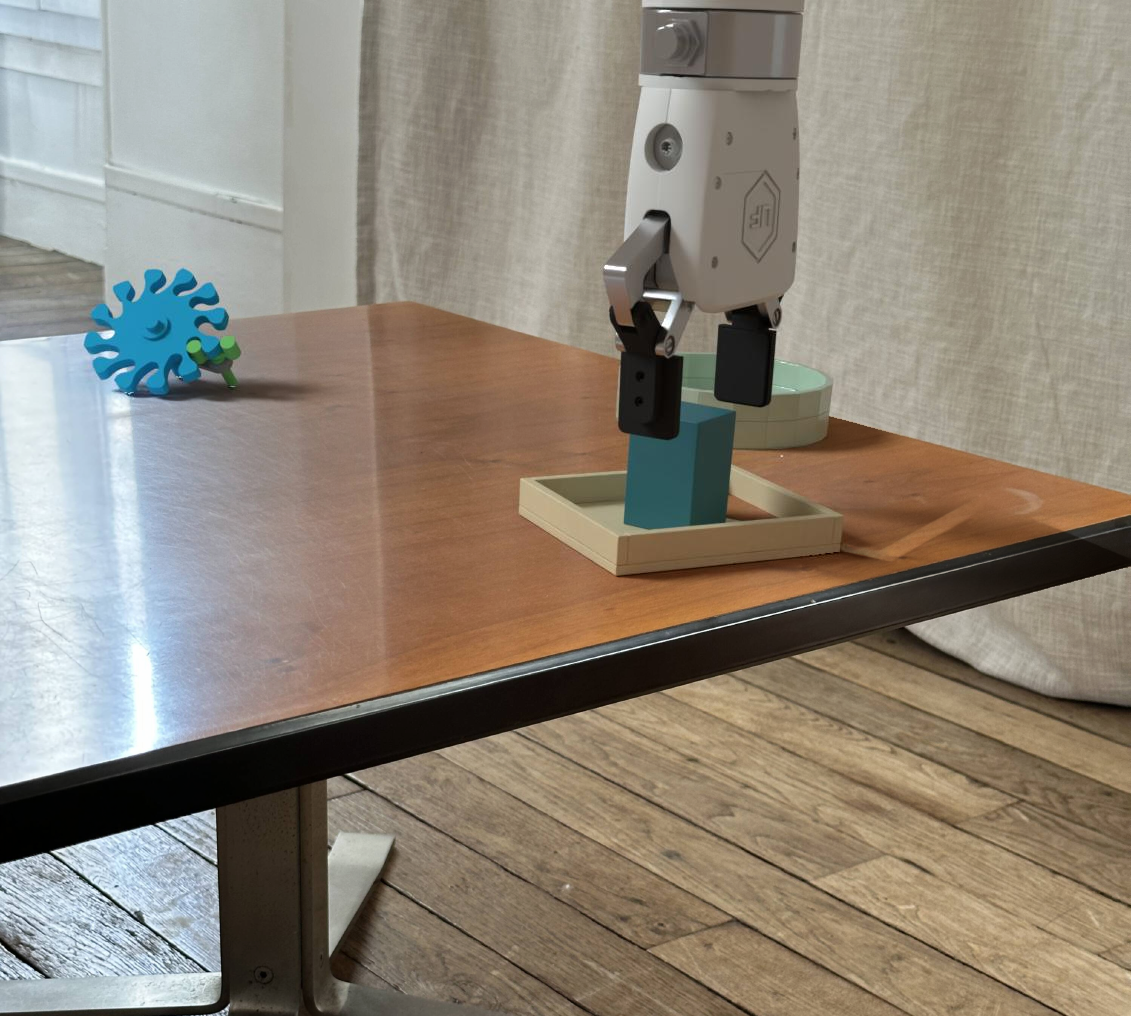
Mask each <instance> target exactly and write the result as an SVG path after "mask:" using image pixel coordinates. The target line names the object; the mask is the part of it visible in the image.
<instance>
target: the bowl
mask: <svg viewBox="0 0 1131 1016" xmlns="http://www.w3.org/2000/svg"><path fill="white" fill-rule="evenodd" d="M716 353H717V352H711V351H710V352H708V351H707V352H706V351H705V352H704V351H675V353H674V355H677V356H684V360H683V377H682V395H681V401H685V402H690V403H695V404H701V405H706V406H712V407H717V408H722V409H728V410H733V411H736V421H735V431H734V442H733V450H779V449H791V448H798V447H803V446H809V445H812V444H815V443H817V442H820V441H822V440H823V439H824V438H826V437H827V435H828V427H829V419H830V411H831V403H832V394H833V387H834V386H833V385H834V377H832V376H831V375H829V374H828V373H826V372H825V371H823V370H820V369H816V368H815V367H811V366H809V365H805V364H803V363H802V364H801V363H796V362H793V361H787V360H783V359H777V358H775V359H774V371H773V384H772V396H771V402H770V404H769V405H767V406H765V407H762V408H759V407H753V406H746V405H740V404H734V403H728V402H721V401H718V400H716V398H715V396H714V383H715V368H716ZM619 387H620V365H619V366H618V375H617V392H616V393H617V394H616V404H615V405H616V406H615V418H616V419H617V421H618V412H619Z"/></svg>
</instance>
